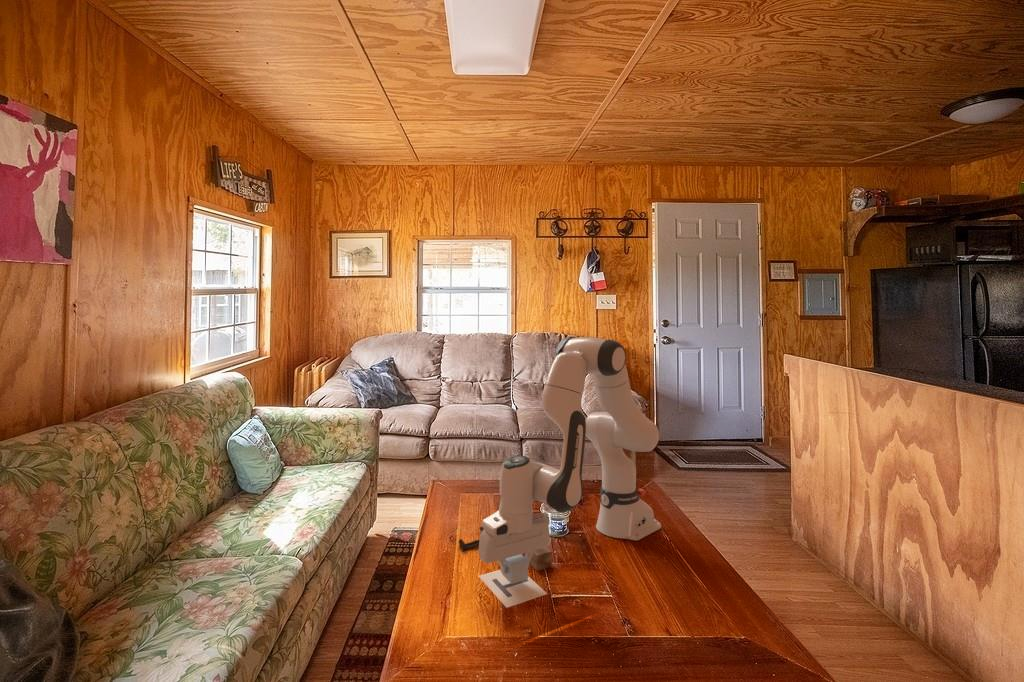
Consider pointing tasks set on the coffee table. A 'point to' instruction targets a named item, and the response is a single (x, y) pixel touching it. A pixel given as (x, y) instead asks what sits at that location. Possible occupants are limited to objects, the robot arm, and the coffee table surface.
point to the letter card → (511, 588)
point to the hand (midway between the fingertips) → (515, 569)
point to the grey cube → (516, 568)
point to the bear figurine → (470, 544)
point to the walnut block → (541, 559)
